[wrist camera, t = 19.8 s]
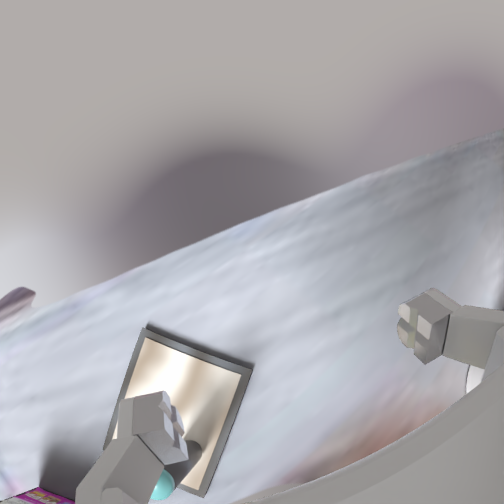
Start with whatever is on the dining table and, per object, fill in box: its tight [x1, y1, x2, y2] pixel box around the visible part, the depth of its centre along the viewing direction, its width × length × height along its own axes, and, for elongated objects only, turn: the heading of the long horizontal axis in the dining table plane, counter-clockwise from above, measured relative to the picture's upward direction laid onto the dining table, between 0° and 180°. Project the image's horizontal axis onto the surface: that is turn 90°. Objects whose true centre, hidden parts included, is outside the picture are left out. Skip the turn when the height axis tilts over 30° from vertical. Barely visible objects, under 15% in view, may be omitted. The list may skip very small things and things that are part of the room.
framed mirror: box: [103, 328, 252, 498], centre depth 35 cm, size 15×19×1 cm
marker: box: [150, 440, 202, 500], centre depth 26 cm, size 3×3×13 cm
